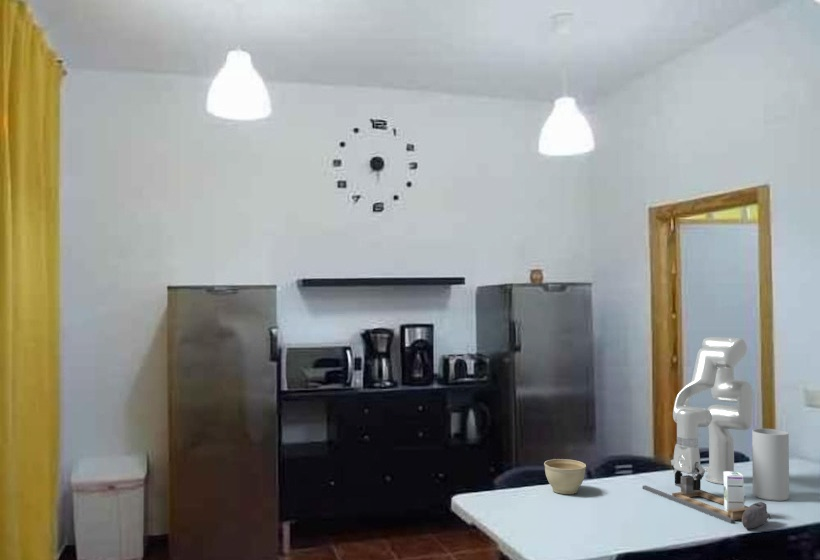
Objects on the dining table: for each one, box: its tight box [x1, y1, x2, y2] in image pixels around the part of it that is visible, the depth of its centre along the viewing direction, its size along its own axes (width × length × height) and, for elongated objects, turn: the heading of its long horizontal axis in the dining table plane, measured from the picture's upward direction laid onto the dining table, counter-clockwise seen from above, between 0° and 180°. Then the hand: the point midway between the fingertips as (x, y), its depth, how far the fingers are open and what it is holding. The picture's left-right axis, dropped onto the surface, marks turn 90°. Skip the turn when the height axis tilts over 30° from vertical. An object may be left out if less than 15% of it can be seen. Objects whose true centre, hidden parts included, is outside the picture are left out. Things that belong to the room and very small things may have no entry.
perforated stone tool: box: [741, 501, 769, 530], centre depth 239 cm, size 15×5×7 cm, turn 129°
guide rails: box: [642, 483, 771, 524], centre depth 267 cm, size 46×18×1 cm, turn 20°
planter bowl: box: [543, 458, 587, 495], centre depth 282 cm, size 16×16×11 cm
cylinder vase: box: [751, 428, 790, 502], centre depth 274 cm, size 12×12×25 cm
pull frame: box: [671, 474, 749, 521], centre depth 261 cm, size 30×13×8 cm, turn 20°
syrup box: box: [723, 471, 745, 512], centre depth 252 cm, size 6×6×14 cm
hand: (687, 486), depth 274 cm, fingers open, 9 cm apart
